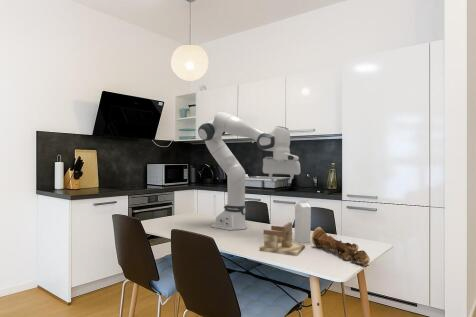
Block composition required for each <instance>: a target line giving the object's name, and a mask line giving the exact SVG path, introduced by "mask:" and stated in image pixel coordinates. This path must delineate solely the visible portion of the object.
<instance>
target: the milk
mask: <svg viewBox="0 0 476 317" xmlns="http://www.w3.org/2000/svg"><path fill="white" fill-rule="evenodd" d="M311 213H312V207H311V205H310V204H309V203H308V200H307V199H301V200H300V199H299V200H298V203H296V205H295V206H294V241H295V242H297V243H298V244H306V243H307V244H308V243H311V224H312V223H311V222H312V221H311V220H312V219H311V218H312V214H311Z"/></svg>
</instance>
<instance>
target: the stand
mask: <svg viewBox="0 0 476 317" xmlns="http://www.w3.org/2000/svg"><path fill="white" fill-rule="evenodd" d="M271 231H277V230H271ZM280 232H282V231H280ZM263 236H264V237H263V239H264V241H263V242H264V243H263V244H262V245H261V246H260V247H259V252H265V253H266V252H267V253H276V254H283V255H288V256H289V255H290V256H293V257H294V256H299V255H300V253H301V252H302V251H303V250H304V249H305V247H306V244H305V243H294V242H293V231H292V232H290V233H289V234H288V235H287V236H285V237H282V236H273V235H265V234H263Z"/></svg>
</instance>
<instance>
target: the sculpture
mask: <svg viewBox="0 0 476 317" xmlns="http://www.w3.org/2000/svg"><path fill="white" fill-rule="evenodd" d="M311 243H312V245H313V246H314V247H316V248H327V249H328V250H332V251H333V252H335V253H337V255H338V256H339V257H340V258H342V259H343V260H344V261H348V260H350V262H354V263H355V264H358V263H361V265H362V266H363V267H364V266H365V267H366V266H368V265H369V263H370V256H369V255H368V254H367V252H366V251H365V250H359V249H360V248H359V245H358V244H357V243H350V242H343V241H342V240H341V239H340V240H337V239H335V238H334V237H333V236H331V235H328V234H327V232H326V231H325V230H324V229H323V228H322V227H321V226H318V227H316V228H315V229H314V230H313V232H312V235H311Z"/></svg>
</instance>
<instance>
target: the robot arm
mask: <svg viewBox="0 0 476 317" xmlns="http://www.w3.org/2000/svg"><path fill="white" fill-rule="evenodd" d="M197 131H198V132H197V133H198V137H199V138H200V139H201V140H203V141H205V145H206V148H207V149H208V151H209V153H210V154H211V155H212V157H213V159H215V161H216V162H217V164H218V165H219V167H220V168H221V170H223V172H224V173H225V174H226V176H227V198H226V199H227V203H226V204H225V205H224V206H223V209H224V211H222V212H220V213H219V214H218V215H217V216H216V217H215V220H214V223H212V224H211V226H210V227H211V228H214V229H222V230H227V231H235V230H236V231H237V230H245V229H247V228H248V227H247V223H246V205H245V204H246V203H245V202H246V171H245V168H244V167H243V166H242V165H241V163H240V162H239V160H238V159H237V158H236V156H235V155H234V154H233V153H232V151H231V150H230V149H229V147H228V146H227V144H226V143H225V142H224V140H223V138H222V136H224V135H225V134H228V135H231V136H236V137H241V138H242V137H243V138H247V139H252V140H254V141H256V145H257V147H258V148H259V149H260V150H262V151H267V152H272V155H273V156H265V157H264V158H263V159H262V173H263V174H267V175H268V177H269V179H270V183H275V178H273V175H274V174H275V175H289V176H290V178H289V179H288V180H287V184H292V180H293V178H294V175H297V176H298V175H300V174H301V172H302V170H301V163H300V161H299V159H300V158H299V156H298V155H294V154H293V153H291V149H290V145H291V133H290V132H291V131H290V129H289V128H288V127H283V126H280V125H279V126H274V127H273V129H271V130H268V131H267V132H265V131H263V130H260V129H257V128H256V127H254V126H252V125H251V124H249V123H247V122H246V121H245V120H243V119H242V118H241V117H238V116H237V115H234V114H232V113H229V112H225V111H218V112H217V113H216V114H215V115H214V117H213V118H211V119H209V120H207V121H206V122H205V123H202V124H201V125H200V126H199V127H198V130H197Z"/></svg>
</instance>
